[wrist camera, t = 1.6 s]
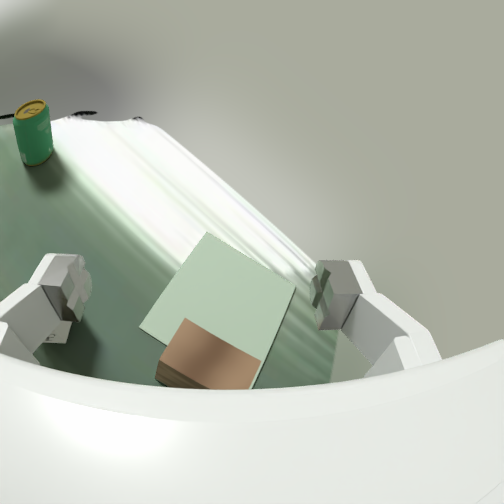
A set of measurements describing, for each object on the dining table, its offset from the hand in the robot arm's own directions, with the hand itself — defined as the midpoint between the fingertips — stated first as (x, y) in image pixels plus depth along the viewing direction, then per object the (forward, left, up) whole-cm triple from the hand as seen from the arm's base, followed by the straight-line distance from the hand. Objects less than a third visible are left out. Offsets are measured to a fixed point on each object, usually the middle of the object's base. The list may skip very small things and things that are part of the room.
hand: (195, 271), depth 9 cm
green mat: (+3, +14, -31) cm, 34 cm away
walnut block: (+3, +1, -31) cm, 31 cm away
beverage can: (-47, +18, -31) cm, 59 cm away
